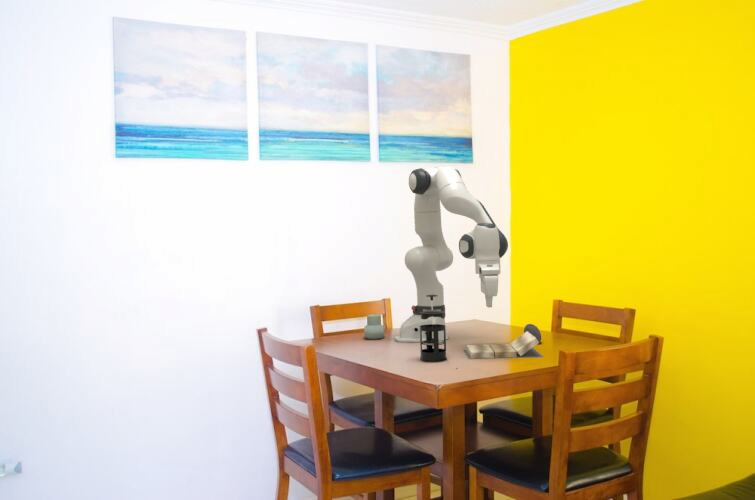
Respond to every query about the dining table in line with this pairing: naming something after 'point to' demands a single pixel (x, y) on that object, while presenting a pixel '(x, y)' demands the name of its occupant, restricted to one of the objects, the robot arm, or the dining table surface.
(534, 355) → the underlay mat
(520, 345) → the right plank
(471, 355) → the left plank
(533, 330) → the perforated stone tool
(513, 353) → the fixed plank
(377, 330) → the air freshener
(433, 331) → the french press
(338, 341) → the dining table surface
